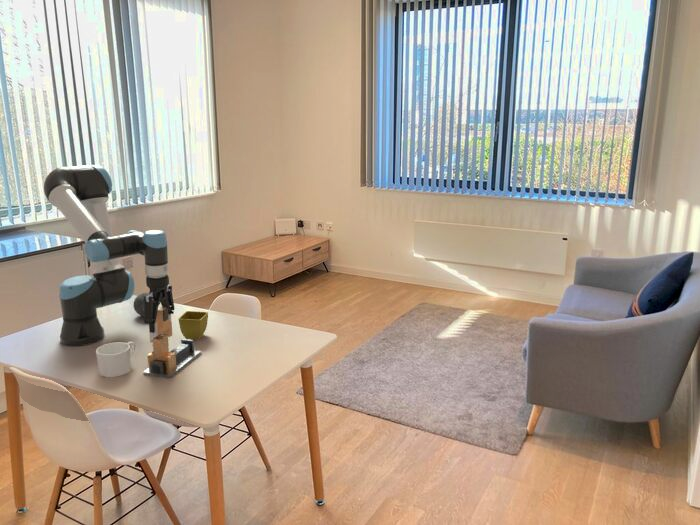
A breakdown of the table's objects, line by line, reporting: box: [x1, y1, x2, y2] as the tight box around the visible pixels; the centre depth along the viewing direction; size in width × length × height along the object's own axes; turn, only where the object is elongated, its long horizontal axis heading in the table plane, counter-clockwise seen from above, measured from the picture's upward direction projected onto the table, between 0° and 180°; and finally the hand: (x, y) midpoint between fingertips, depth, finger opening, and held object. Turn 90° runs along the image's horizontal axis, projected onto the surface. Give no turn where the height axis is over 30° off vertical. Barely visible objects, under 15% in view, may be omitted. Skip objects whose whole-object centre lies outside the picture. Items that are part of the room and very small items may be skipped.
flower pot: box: [178, 310, 209, 340], centre depth 216 cm, size 9×9×9 cm
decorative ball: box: [133, 292, 160, 317], centre depth 237 cm, size 10×10×10 cm
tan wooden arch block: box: [149, 306, 173, 343], centre depth 202 cm, size 8×5×12 cm, turn 165°
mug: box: [95, 341, 136, 378], centre depth 189 cm, size 13×10×8 cm
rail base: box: [142, 334, 202, 379], centre depth 193 cm, size 10×20×12 cm, turn 165°
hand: (161, 335), depth 203 cm, fingers closed on tan wooden arch block, 8 cm apart
